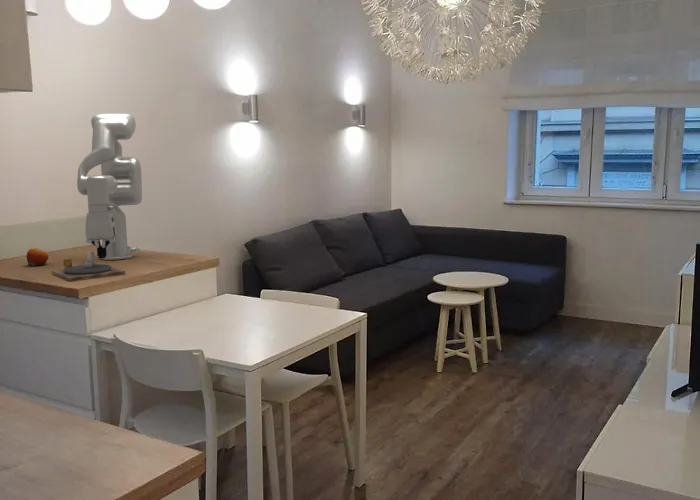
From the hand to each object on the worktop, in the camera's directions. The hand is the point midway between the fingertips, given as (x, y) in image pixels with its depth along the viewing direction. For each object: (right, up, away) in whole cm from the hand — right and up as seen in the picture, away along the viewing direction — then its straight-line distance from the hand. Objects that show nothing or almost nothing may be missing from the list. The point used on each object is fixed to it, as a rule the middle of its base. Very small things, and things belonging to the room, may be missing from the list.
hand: (102, 257), depth 257 cm
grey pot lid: (-3, -5, -5) cm, 8 cm away
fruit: (-32, -3, +17) cm, 36 cm away
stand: (-3, -6, -5) cm, 8 cm away
